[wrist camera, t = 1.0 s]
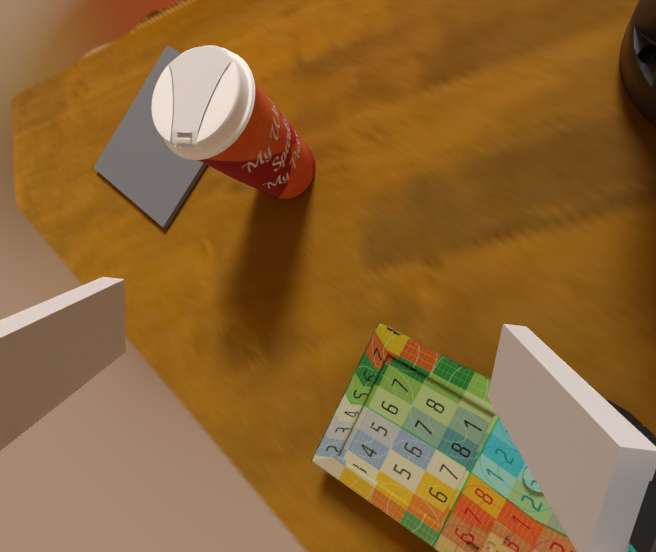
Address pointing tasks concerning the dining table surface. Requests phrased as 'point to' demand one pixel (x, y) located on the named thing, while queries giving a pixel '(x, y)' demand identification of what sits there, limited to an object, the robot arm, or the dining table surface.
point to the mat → (148, 157)
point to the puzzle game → (435, 453)
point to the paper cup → (229, 123)
